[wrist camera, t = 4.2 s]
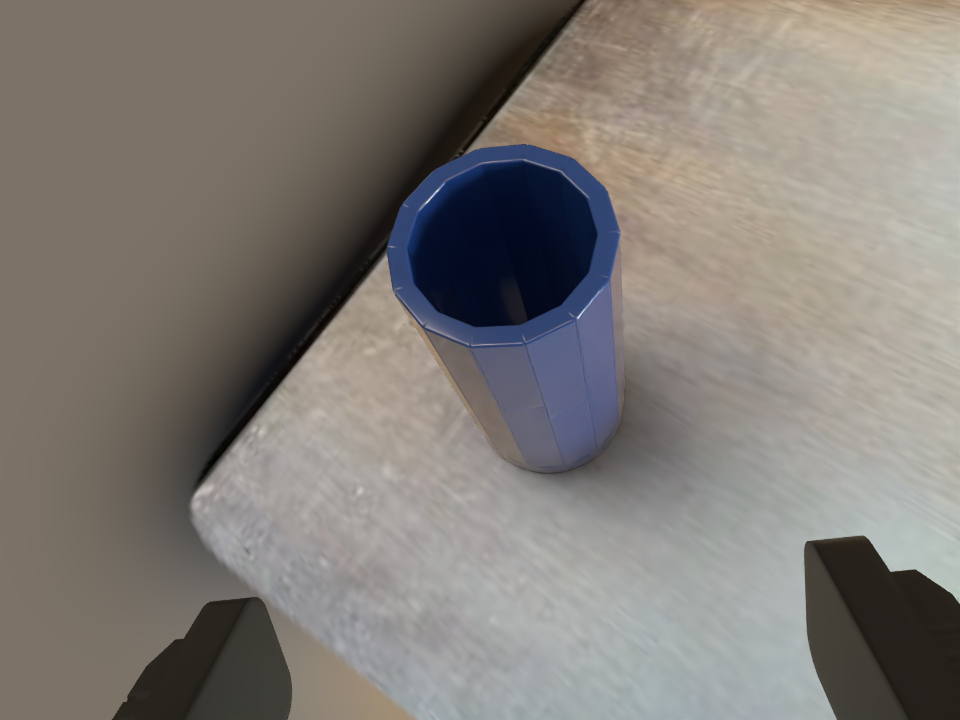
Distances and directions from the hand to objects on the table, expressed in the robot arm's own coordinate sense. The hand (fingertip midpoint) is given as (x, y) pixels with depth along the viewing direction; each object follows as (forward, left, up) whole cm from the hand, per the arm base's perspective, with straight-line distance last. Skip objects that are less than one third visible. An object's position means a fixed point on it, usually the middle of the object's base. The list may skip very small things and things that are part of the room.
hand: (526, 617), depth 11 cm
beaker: (+4, +6, -11) cm, 13 cm away
